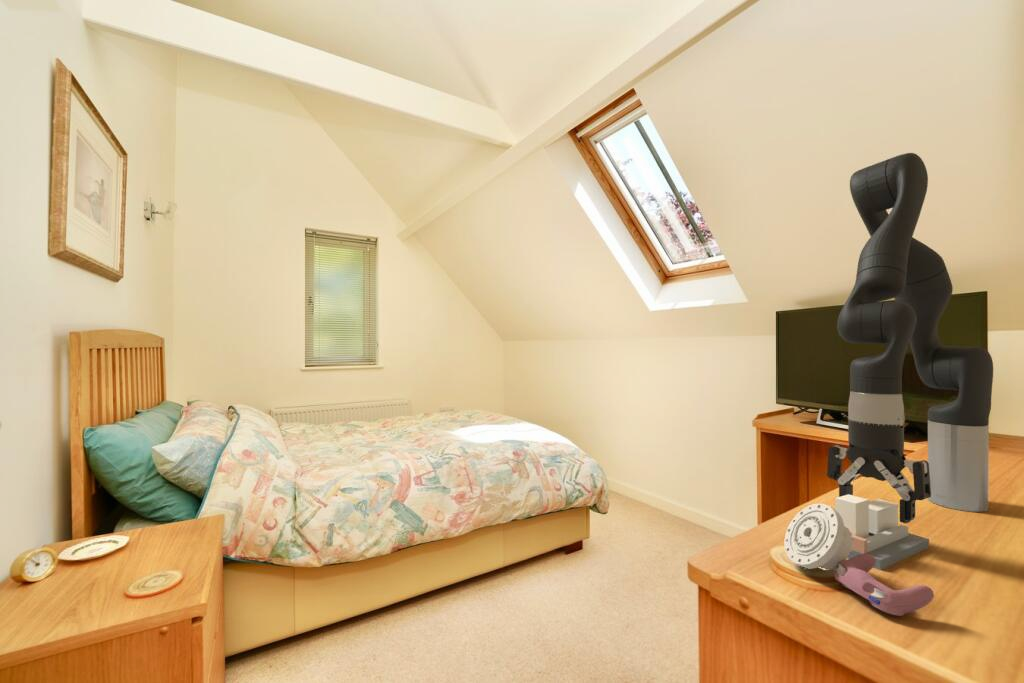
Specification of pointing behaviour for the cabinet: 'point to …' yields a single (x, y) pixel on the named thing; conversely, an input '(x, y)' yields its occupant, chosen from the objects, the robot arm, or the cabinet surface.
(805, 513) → the mechanical component
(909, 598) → the pink curved lobed piece
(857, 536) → the rail mount
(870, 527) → the cream block
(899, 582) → the cabinet surface
